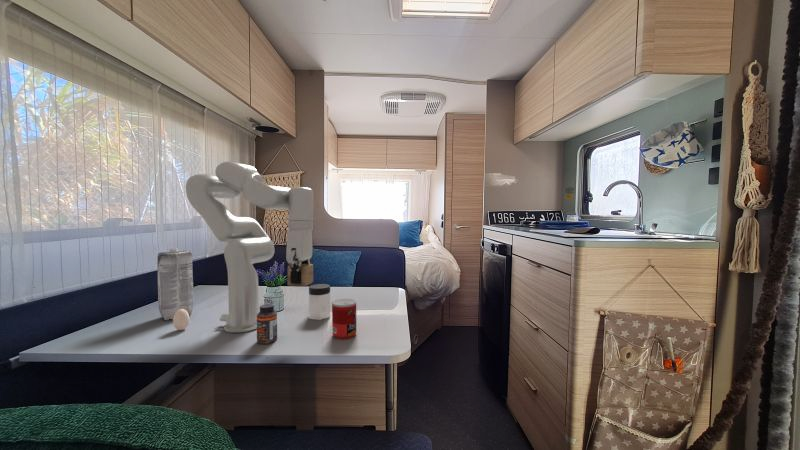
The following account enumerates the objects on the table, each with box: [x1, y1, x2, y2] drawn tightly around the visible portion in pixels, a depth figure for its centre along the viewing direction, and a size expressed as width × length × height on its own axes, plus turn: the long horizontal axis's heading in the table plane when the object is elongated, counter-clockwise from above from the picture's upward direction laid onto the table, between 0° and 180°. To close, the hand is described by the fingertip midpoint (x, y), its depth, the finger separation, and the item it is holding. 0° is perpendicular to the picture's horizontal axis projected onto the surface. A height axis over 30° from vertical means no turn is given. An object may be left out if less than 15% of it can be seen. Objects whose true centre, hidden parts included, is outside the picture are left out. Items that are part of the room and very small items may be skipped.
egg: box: [172, 309, 191, 331], centre depth 104 cm, size 5×5×7 cm
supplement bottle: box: [256, 303, 278, 345], centre depth 95 cm, size 6×6×11 cm
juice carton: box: [156, 247, 194, 321], centre depth 119 cm, size 9×10×27 cm
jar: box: [308, 283, 331, 321], centre depth 118 cm, size 9×8×12 cm
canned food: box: [331, 298, 357, 340], centre depth 99 cm, size 8×8×11 cm
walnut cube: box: [287, 263, 314, 287], centre depth 97 cm, size 6×6×6 cm
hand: (300, 280), depth 97 cm, fingers closed on walnut cube, 6 cm apart
